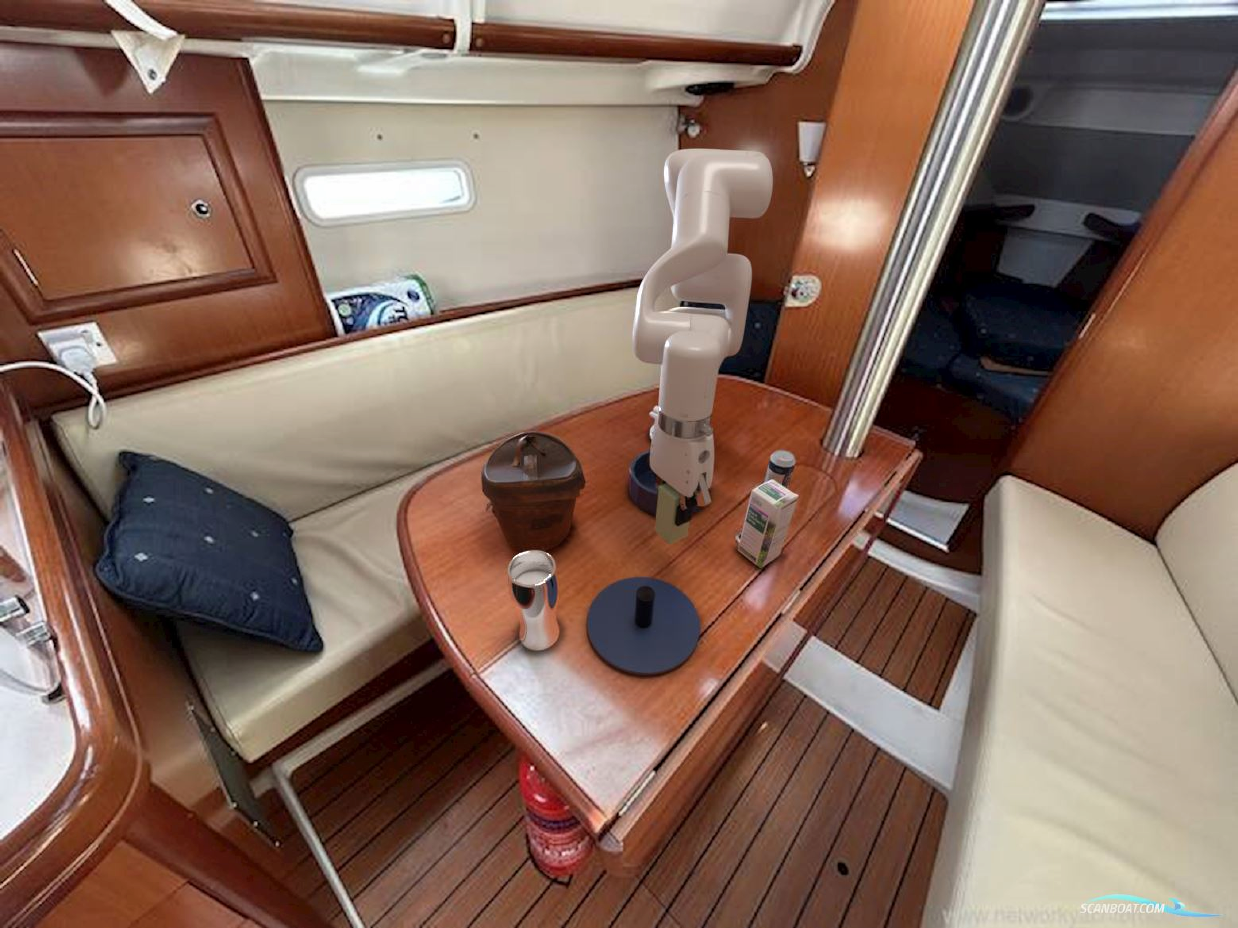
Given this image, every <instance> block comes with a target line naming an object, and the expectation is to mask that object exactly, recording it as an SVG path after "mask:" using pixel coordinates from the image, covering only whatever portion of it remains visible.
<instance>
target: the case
mask: <svg viewBox="0 0 1238 928" xmlns="http://www.w3.org/2000/svg"><path fill="white" fill-rule="evenodd" d="M480 480H481V481H480V483H481V492H482V493H483V495H484V496H485V497H486V498H487V499H488V500H489V502H488V503H486V507H485V508H486V509H485V511H486V512H488V510H489V509H490V507H491V508H492V509H491V512H492V514H493V515H494V518H495V519H496V520H497V522H498V525H499V527H500V529H501V531H502V534H503V536H504V539H505V540H506V542H507V543H508V544H509V545H510V546H511V547H513V548H514V549H516V550H518V551H522V552H525V551H529V550H540V551H544V552H546V551H549V550H551V549H553V548H555V547H558V546H559V545H560V544H561V543H562V542H563V541H564V540H565V539H566V538H567V537H568V535H569V533H570V530H571V527H572V523H573V517H574V511H575V506H576V504H577V503H576V502H577V499H578V498H579V497H580V496H581V493H580V491H581V490H584V489H585V488H586V483H587V482H586V478H585V474H584V470H583V467H582V464H581V462H580V460H579V458H578V456H576V454H575V452H574V451H573V449H572V448H571V447H570V445H568V444H567V443H566V442H565V441H564V440H563V439H562V438H560V437H558V436H556V435H554V434H553V433H548V432H545V431H540V430H533V431H523V432H520V433H518V434H514V435H513V436H511V437H509V438H508V439H506V440H504V441H503V442H502V443H500V444H499V445H498V446H497V447H496V448H495V449H494V450H493V451H492V452H491V454H490V455H489V457H488V458H487V460H486V461H485V463H484V464H483V465H482V467H481V479H480Z"/></svg>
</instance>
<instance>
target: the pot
mask: <svg viewBox="0 0 1238 928" xmlns="http://www.w3.org/2000/svg"><path fill="white" fill-rule="evenodd" d="M649 456H650V449H648V450H646V451H644V452H640V453H639V454H638V455H637V456H636V457H635V458H634V459H633V460H632V461H631V464H630V466H629V476H628V490H629V491H628V492H629V497H630V498H631V500H632V501H633V502H634V504H635V505H636V506H637V507H639V508H640V509H641V510H643V511H644V512H646V513H648V514H651V515H654V516H656V513H657V509H656V501H657V491H658V489H657V488H656V487H655V482H656V480H655V477H654V475H653V473H652V469H651V468H650V466H649V464H648V462H647V458H648V457H649ZM710 488H711V487H710ZM710 488H709V489H708V491H709V492H710ZM704 507H705V506H694V507H693V513H692V515H693V514H696V513H697V512H699V511H701V510H702V509H704Z"/></svg>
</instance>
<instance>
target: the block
mask: <svg viewBox="0 0 1238 928" xmlns="http://www.w3.org/2000/svg"><path fill="white" fill-rule="evenodd" d="M689 498H690V497H687V499H689ZM679 505H680V497H679V492H678V491H677V490H676V489H674V488H673V487H672V486H671V485H669V484H668V483H665V484H663V485H661V486H659V490H658V502H657V513H656V515H655V525H654V526H655V527H654V533H655V534H656V535H658V537H660V538H661V539H662V540H663V541H664V542H665V543H667V544H668V545H669V546H672V545H673V544H675V543H678V542H679V541H681V540H683V539H685V538H687V537H688V536H689V530H690V529H689V528H690V522H691V520H690V521H689V522H687V523H684V524H682V525H680V526H676V525H675V518H676V509H677V506H679Z"/></svg>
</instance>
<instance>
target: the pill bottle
mask: <svg viewBox="0 0 1238 928" xmlns="http://www.w3.org/2000/svg"><path fill="white" fill-rule="evenodd" d="M796 462H797V460H796V458H795V455H794V453H792V452H791V451H788V450H786V449H776V450H775V451H773V453H771V455H770V457H769V459H768V465H767V470H766V473H765V476H764V481H763V483H765V482H767V481H770V480H772V479H773V480H775V481H776V482H778V483H779V484H781V485H782V486H784V487H786V488H787V489H788V490H789V487H790V483H791V481H792V476H793V473H794V470H795V466H796Z"/></svg>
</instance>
